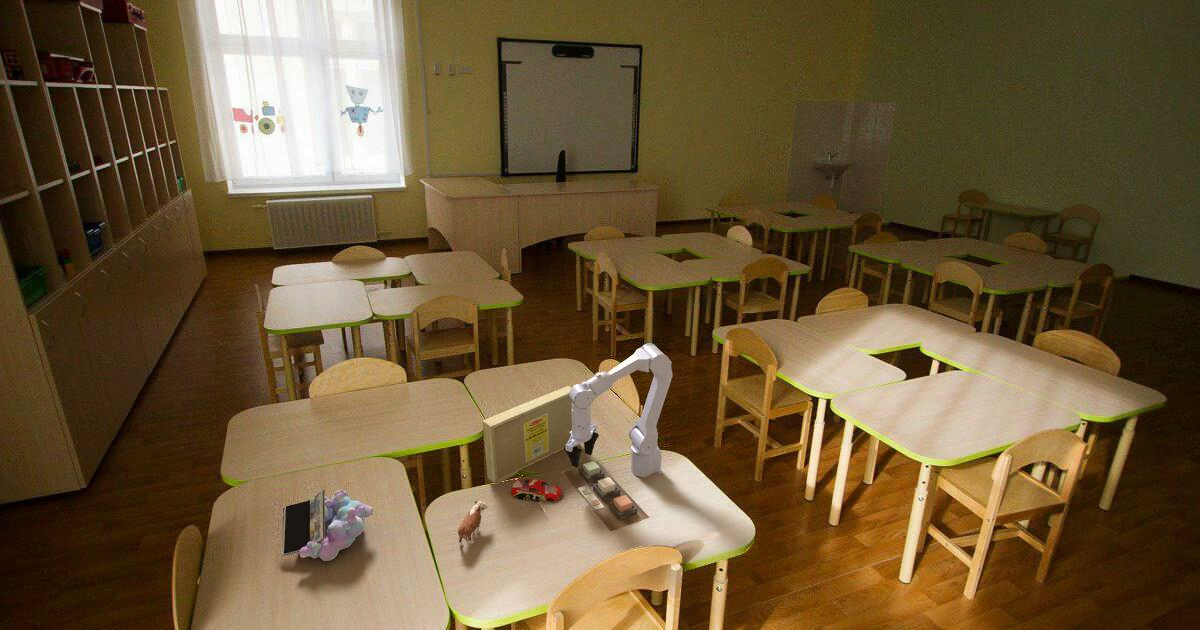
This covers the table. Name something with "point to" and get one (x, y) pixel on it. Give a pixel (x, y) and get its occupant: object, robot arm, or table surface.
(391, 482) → the table surface
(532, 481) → the race car
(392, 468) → the table surface
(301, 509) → the cloud picture frame
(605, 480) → the cream key
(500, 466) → the beige flat box
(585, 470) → the sage key
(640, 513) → the keypad
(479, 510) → the bull figurine
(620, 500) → the terracotta key
